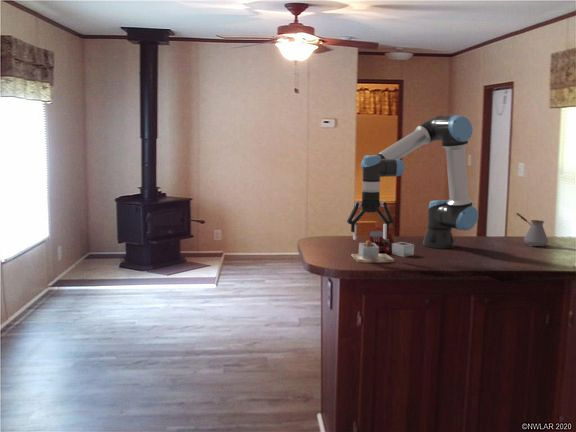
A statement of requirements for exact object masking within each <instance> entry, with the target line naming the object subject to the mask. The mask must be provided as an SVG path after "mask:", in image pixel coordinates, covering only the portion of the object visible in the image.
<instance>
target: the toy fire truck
mask: <svg viewBox="0 0 576 432" xmlns="http://www.w3.org/2000/svg"><path fill="white" fill-rule="evenodd" d="M367 236H368V241H371V243H375V244H376V245H377V246H378V247H379V253H381V251H383V252H384V254H389V253H392V244H393V243H395V241H394V239H393V236H392V234H391V233H389V231H387V236H386V239H383V229H382V230H381V229H380V230H379V229H377V230H375V229H369V230H368V231H367Z"/></svg>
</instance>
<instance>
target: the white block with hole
mask: <svg viewBox="0 0 576 432" xmlns="http://www.w3.org/2000/svg"><path fill="white" fill-rule="evenodd" d="M414 252H415V243H409V242H404V241H399V242H394V243H393V244H392V250H391V255H392V256H393V255H394V256H398V257H404V258H406V257H409V256H414V254H415V253H414Z"/></svg>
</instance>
